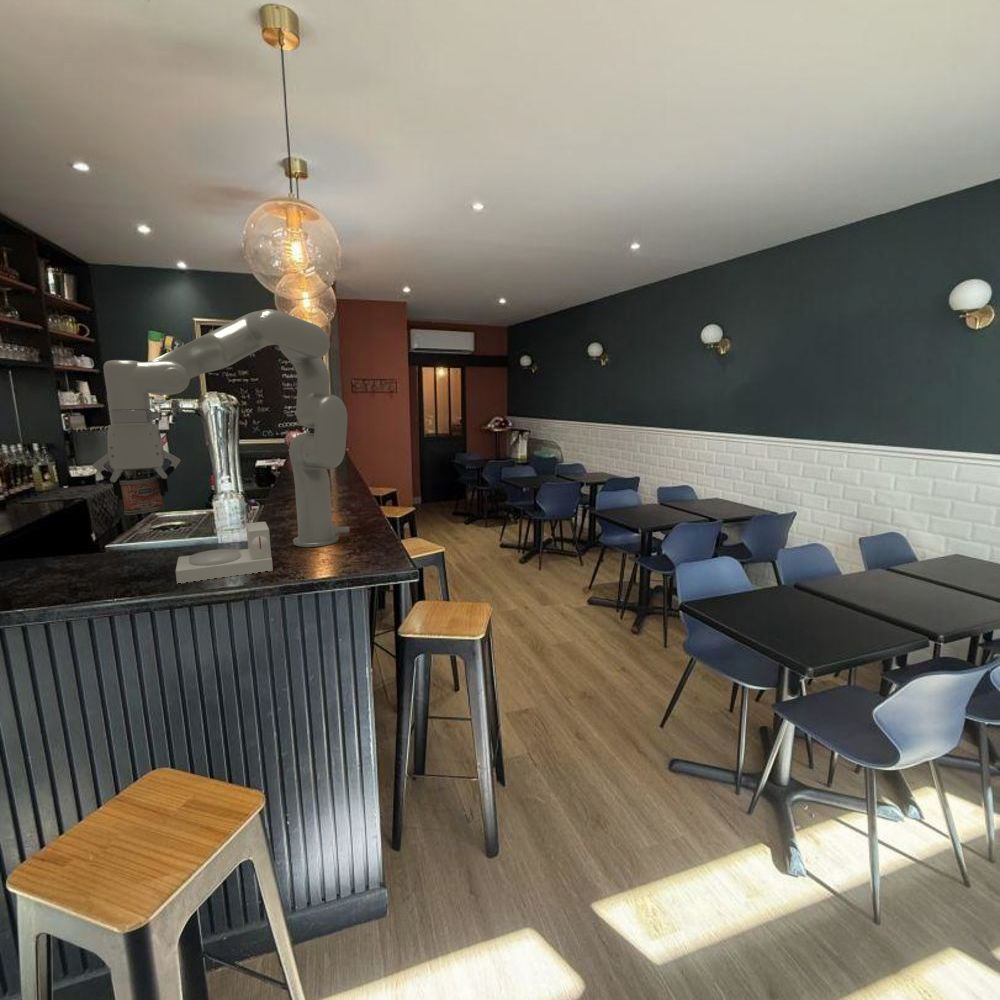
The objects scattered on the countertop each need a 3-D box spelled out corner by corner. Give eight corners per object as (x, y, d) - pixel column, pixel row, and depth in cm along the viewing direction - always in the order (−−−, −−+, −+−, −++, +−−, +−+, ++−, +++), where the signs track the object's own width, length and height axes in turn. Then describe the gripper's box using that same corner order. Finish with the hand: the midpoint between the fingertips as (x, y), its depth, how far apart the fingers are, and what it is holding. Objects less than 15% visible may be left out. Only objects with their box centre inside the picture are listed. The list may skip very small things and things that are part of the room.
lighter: (128, 515, 117) (121, 470, 115) (121, 514, 119) (114, 469, 117) (167, 508, 124) (161, 466, 122) (159, 507, 126) (154, 465, 124)
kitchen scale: (267, 557, 141) (264, 520, 139) (272, 570, 129) (269, 530, 128) (179, 568, 131) (175, 529, 130) (177, 584, 120) (172, 540, 118)
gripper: (178, 416, 125) (187, 491, 128) (86, 418, 117) (98, 498, 120) (176, 417, 118) (186, 496, 121) (78, 419, 110) (92, 503, 114)
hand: (142, 496), depth 121 cm, fingers closed on lighter, 7 cm apart
